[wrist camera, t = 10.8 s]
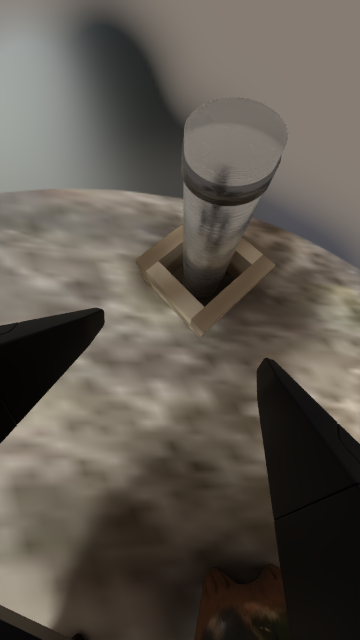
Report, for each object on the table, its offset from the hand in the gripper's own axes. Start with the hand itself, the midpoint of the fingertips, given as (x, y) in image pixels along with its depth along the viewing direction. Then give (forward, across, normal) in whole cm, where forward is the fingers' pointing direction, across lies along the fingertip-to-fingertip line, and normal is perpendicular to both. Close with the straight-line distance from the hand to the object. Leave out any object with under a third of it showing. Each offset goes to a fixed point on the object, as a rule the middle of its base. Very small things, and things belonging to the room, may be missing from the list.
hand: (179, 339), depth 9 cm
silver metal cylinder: (+11, 0, 0) cm, 11 cm away
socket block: (+11, 0, 0) cm, 11 cm away
